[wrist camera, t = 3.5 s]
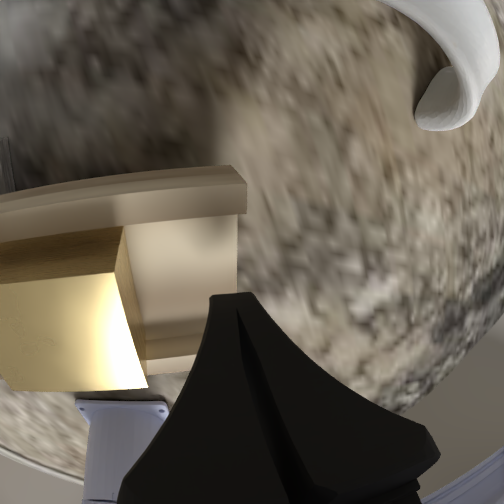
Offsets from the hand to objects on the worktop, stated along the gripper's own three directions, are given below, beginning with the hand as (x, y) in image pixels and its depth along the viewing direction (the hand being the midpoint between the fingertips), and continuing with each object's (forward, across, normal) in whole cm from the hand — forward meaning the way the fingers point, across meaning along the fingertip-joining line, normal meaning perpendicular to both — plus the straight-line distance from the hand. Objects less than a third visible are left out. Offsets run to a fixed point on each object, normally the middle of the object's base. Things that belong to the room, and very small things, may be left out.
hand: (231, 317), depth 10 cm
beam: (+2, +14, 0) cm, 14 cm away
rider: (+2, +6, 0) cm, 7 cm away
